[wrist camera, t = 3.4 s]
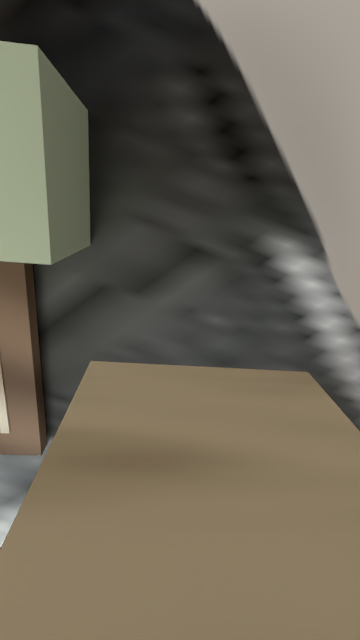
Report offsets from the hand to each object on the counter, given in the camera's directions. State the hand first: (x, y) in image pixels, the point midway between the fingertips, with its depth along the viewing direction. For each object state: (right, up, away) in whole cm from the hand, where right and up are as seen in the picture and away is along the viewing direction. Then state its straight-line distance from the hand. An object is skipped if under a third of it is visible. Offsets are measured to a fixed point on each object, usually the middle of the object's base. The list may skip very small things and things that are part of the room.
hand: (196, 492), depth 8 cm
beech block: (0, +1, +1) cm, 1 cm away
